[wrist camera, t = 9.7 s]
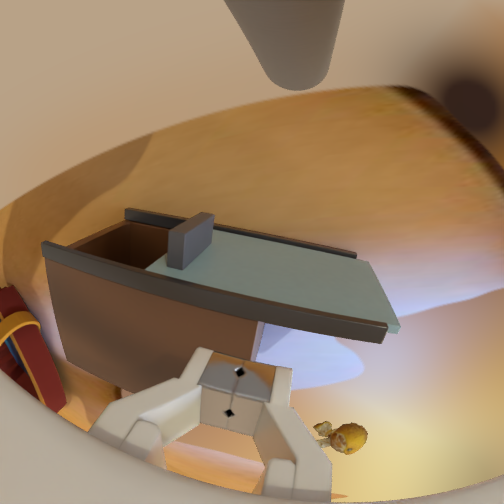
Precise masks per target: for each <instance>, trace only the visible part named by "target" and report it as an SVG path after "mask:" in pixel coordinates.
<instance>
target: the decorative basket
mask: <svg viewBox="0 0 504 504" xmlns="http://www.w3.org/2000/svg"><path fill="white" fill-rule="evenodd" d="M40 328H41V326H40V323H39V322H38V321H37V320H36V319H35V317H34V316H33V315H32V314H31V313H30V312H29V310H28V309H27V307H26V305H25V303H24V302H23V300H22V298H21V297H20V295H19V293H18V292H17V290H16V289H15V287H14V286H13V285H12V286H10V287H8V288H7V287H5V288H3V289H1V287H0V369H1V370H2V371H3V372H4V373H6V374H7V375H8V376H9V377H10V378H11V379H12V380H14V381H15V382H16V383H17V384H18V385H20V386H21V387H22V388H23V389H25V390H26V391H27V392H28V393H30V394H31V395H32V396H33V397H35V398H36V399H37V400H39V401H40V402H42V403H43V404H44V405H46V406H47V407H48V408H50V409H51V410H53V411H54V412H56V413H57V412H58V411H59V410H60V409H61V408H62V407H63V406H64V405H65V404H66V403H67V402H66V397H65V393H64V390H63V386H62V383H61V380H60V377H59V374H58V372H57V369H56V367H55V364H54V362H53V359H52V357H51V355H50V353H49V350H48V348H47V346H46V344H45V342H44V340H43V337H42V335H41V333H40Z"/></svg>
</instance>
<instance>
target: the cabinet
mask: <svg viewBox="0 0 504 504" xmlns="http://www.w3.org/2000/svg"><path fill="white" fill-rule="evenodd" d="M125 219H126V220H124V221H122V222H120V223H117V224H115V225H113V226H110V227H108V228H106V229H103V230H101V231H99V232H97V233H94V234H92V235H90V236H88V237H86V238H84V239H81V240H79V241H77V242H75V243H73V244H71V245H69V246H66V247H65V246H61V245H58V244H55V243H52V242H49V241H44V242H41V247H42V255H43V257H45V265H46V272H47V278H48V284H49V290H50V295H51V300H52V305H53V310H54V314H55V319H56V323H57V327H58V331H59V334H60V338H61V342H62V345H63V349H64V352H65V355H66V359H67V361H69V362H70V363H72V364H74V365H76V366H78V367H80V368H81V369H83V370H85V371H87V372H89V373H91V374H93V375H95V376H97V377H99V378H101V379H103V380H105V381H107V382H109V383H111V384H114V385H116V386H118V387H120V388H122V389H125V390H127V391H129V392H132V393H134V394H135V393H137V392H140V391H142V390H145V389H147V388H150V387H152V386H155V385H157V384H160V383H162V382H165V381H167V380H169V379H172V378H178V379H179V377H180V376H181V374H182V372H183V371H184V369H185V367H186V365H187V364H188V362H189V360H190V359H191V357H192V355H193V353H194V352H195V350H196V349H197V348H198V347H199V346H200V347H203V348H206V349H210V350H213V351H217V352H221V353H224V354H228V355H231V356H235V357H239V358H242V359H246V360H251V361H255V360H256V357H257V353H258V350H259V346H260V342H261V339H262V334H263V330H264V325H265V323H269V324H273V325H278V326H283V327H288V328H293V329H297V330H303V331H308V332H313V333H318V334H324V335H329V336H335V337H341V338H346V339H352V340H359V341H365V342H372V343H378V344H382V342H383V340H384V337H385V335H386V333H387V331H388V329H389V327H388V325H387V323H385V322H379V321H373V320H368V319H362V318H356V317H351V316H345V315H340V314H335V313H329V312H324V311H319V310H314V309H309V308H304V307H299V306H294V305H289V304H285V303H280V302H275V301H271V300H266V299H261V298H257V297H252V296H248V295H244V294H239V293H235V292H231V291H226V290H222V289H218V288H214V287H210V286H205V285H201V284H197V283H193V282H189V281H185V280H181V279H178V278H174V277H170V276H166V275H162V274H158V273H155V272H151V271H147V270H145V269H146V268H147V267H149V266H150V265H151V264H153V263H154V262H155V261H157V260H158V259H159V258H161V257H162V256H163V255H165V254H166V253H167V252H168V233H169V230H171V229H173V228H174V227H176V226H178V225H180V224H181V223H183V222H185V221H187V220H188V219H189V218H183V217H178V216H173V215H167V214H162V213H156V212H150V211H145V210H139V209H133V208H126V209H125ZM213 230H218V231H223V232H228V233H233V234H238V235H243V236H248V237H253V238H258V239H263V240H268V241H273V242H278V243H283V244H287V245H292V246H297V247H302V248H306V249H311V250H316V251H321V252H325V253H330V254H335V255H339V256H344V257H349V258H353V259H356V258H357V254H356V252H351V251H347V250H342V249H338V248H333V247H328V246H324V245H319V244H314V243H310V242H305V241H300V240H295V239H290V238H286V237H281V236H276V235H271V234H266V233H261V232H256V231H251V230H246V229H241V228H236V227H231V226H226V225H220V224H215V223H214V225H213Z"/></svg>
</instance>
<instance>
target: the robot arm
mask: <svg viewBox="0 0 504 504" xmlns="http://www.w3.org/2000/svg"><path fill="white" fill-rule="evenodd" d="M292 374H293V370H292V368H286V367H281V366H274V365H269V364H264V363H260V362H255V361H251V360H246V359H242V358H239V357H235V356H231V355H228V354H224V353H221V352H217V351H213V350H210V349H206V348H203V347H200V346H199V347H198V348H197V349H196V350H195V352H194V353H193V355H192V357H191V359H190V360H189V362H188V364H187V365H186V367H185V369H184V371H183V372H182V374H181V376H180V377H179V379H178V378H172V379H169V380H167V381H165V382H162V383H160V384H157V385H155V386H152V387H150V388H147V389H145V390H142V391H140V392H137V393H135V394H132V395H130V396H127V397H124V398H122V399H119V400H116V401H114V402H111V403H109V405H108V406H107V407H106V408H105V410H104V411H103V412H102V414H101V415H100V416H99V418H98V419H97V420H96V422H95V423H94V424H93V425H92V427H91V428H90V429H89V431H88V432H86V431H84V430H82V429H81V428H79V427H77V426H76V425H74V424H73V423H71V422H69V421H68V420H66V419H65V418H63V417H62V416H60V415H59V414H57V413H56V412H54V411H53V410H51V409H50V408H48V407H47V406H46V405H44V404H43V403H42V402H40V401H39V400H37V399H36V398H35V397H33V396H32V395H31V394H30V393H28V392H27V391H26V390H25V389H23V388H22V387H21V386H20V385H18V384H17V383H16V382H15V381H14V380H12V379H11V378H10V377H9V376H8V375H7V374H6V373H4V372H3V371H2V370H1V369H0V504H504V475H501V476H498V477H495V478H493V479H490V480H487V481H484V482H480V483H477V484H474V485H471V486H467V487H463V488H460V489H456V490H451V491H447V492H443V493H438V494H433V495H427V496H422V497H415V498H408V499H400V500H392V501H378V502H357V503H356V502H354V503H338V502H337V503H336V502H331V487H332V463H331V461H330V460H329V459H328V457H327V456H326V454H325V453H324V451H323V450H322V449H321V447H320V446H319V444H318V443H317V441H316V440H315V439H314V437H313V436H312V434H311V433H310V431H309V430H308V428H307V427H306V425H305V424H304V422H303V421H302V420H301V418H300V417H299V415H298V414H297V412H296V411H295V409H294V408H293V407H289V400H290V392H291V383H292ZM199 423H203V424H206V425H210V426H214V427H218V428H222V429H226V430H230V431H233V432H237V433H241V434H244V435H249V436H253V440H254V442H255V444H256V447H257V449H258V452H259V454H260V457H261V459H262V461H263V464H264V466H265V469H264V471H263V473H262V475H261V477H260V479H259V481H258V482H257V484H256V486H255V488H254V490H253V492H252V493H247V492H242V491H237V490H233V489H229V488H225V487H221V486H217V485H213V484H209V483H206V482H202V481H199V480H196V479H192V478H189V477H186V476H183V475H180V474H177V473H175V472H172V471H169V470H166V468H167V466H166V461H165V455H164V450H163V447H165V446H166V445H168V444H169V443H171V442H173V441H174V440H176V439H177V438H179V437H181V436H182V435H184V434H185V433H187V432H188V431H190V430H191V429H193V428H194V427H196V426H197V425H199Z"/></svg>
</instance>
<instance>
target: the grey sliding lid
mask: <svg viewBox="0 0 504 504" xmlns="http://www.w3.org/2000/svg"><path fill="white" fill-rule="evenodd" d="M214 216H215V215H214V214H209V213H204V212H201V213H199V214H197V215H195V216H194V217H192V218H190V219H188V220H187V221H185V222H183V223H181V224H180V225H178V226H176V227H174V228H173V229H171V230H169V233H168V252H167V253H166V254H165V255H163V256H162V257H161V258H159V259H158V260H157V261H155V262H154V263H153V264H151V265H150V266H149V267H147V268H146V269H145V270H147V271H151V272H155V273H158V274H162V275H166V276H170V277H174V278H178V279H181V280H185V281H189V282H193V283H197V284H201V285H205V286H210V287H214V288H218V289H222V290H226V291H231V292H235V293H239V294H244V295H248V296H252V297H257V298H261V299H266V300H271V301H275V302H280V303H285V304H289V305H294V306H299V307H304V308H309V309H314V310H319V311H324V312H329V313H335V314H340V315H345V316H351V317H356V318H362V319H368V320H373V321H379V322H385V323H387V325H388V327H389V329H388V331H387V332H388V333H395V334H398V332H399V330H400V328H401V326H400V323H399V321H398V319H397V317H396V315H395V313H394V311H393V309H392V307H391V304H390V302H389V300H388V298H387V296H386V294H385V292H384V290H383V288H382V286H381V284H380V282H379V280H378V279H377V277H376V275H375V273H374V271H373V269H372V267H371V265H370V263H369V262H367V261H363V260H358V259H353V258H349V257H344V256H339V255H335V254H330V253H325V252H321V251H316V250H311V249H306V248H302V247H297V246H292V245H287V244H283V243H278V242H273V241H268V240H263V239H258V238H253V237H248V236H243V235H238V234H233V233H228V232H223V231H218V230H213V225H214Z"/></svg>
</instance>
